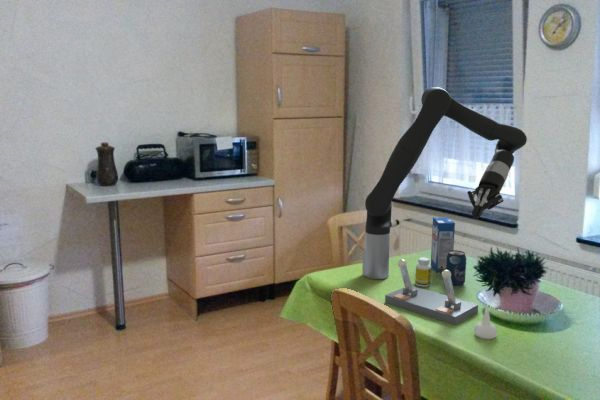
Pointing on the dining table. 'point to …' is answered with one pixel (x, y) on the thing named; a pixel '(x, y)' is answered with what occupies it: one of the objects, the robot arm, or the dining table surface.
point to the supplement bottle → (423, 272)
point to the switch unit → (432, 304)
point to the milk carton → (441, 242)
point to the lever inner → (405, 275)
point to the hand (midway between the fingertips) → (475, 216)
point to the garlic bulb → (485, 328)
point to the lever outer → (449, 287)
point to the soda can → (456, 267)
